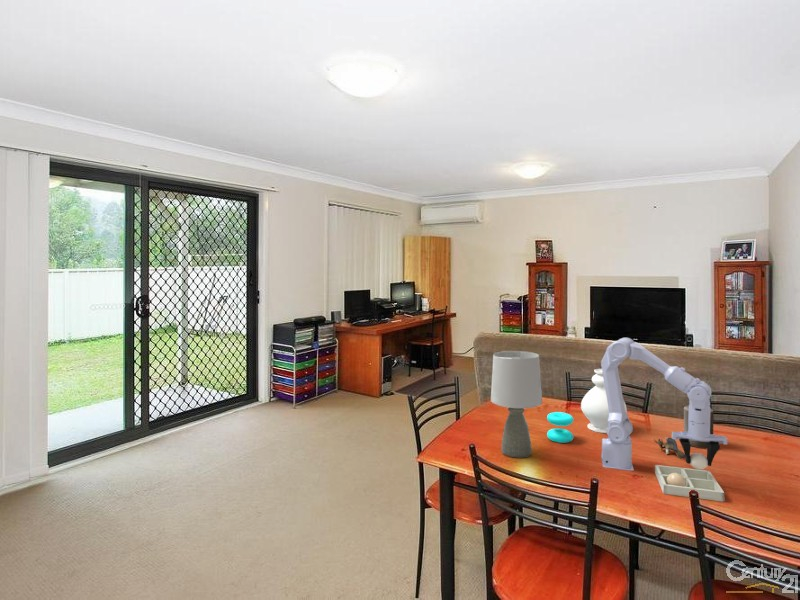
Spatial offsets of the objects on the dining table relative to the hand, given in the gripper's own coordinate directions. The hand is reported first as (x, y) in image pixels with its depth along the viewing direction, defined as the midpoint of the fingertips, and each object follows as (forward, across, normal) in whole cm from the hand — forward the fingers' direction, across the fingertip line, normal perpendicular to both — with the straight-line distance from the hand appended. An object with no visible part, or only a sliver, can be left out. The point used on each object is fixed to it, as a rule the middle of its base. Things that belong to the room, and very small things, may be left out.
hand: (698, 463), depth 144 cm
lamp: (+7, +57, -8) cm, 58 cm away
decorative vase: (+7, +25, -46) cm, 53 cm away
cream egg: (+2, 0, 0) cm, 2 cm away
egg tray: (+6, +4, +4) cm, 8 cm away
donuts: (+7, +42, -27) cm, 50 cm away
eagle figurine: (+7, +3, -24) cm, 25 cm away
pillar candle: (+7, -8, -38) cm, 40 cm away
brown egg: (+6, +7, +7) cm, 12 cm away
